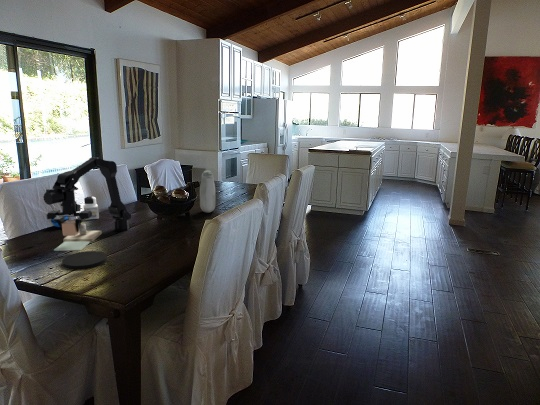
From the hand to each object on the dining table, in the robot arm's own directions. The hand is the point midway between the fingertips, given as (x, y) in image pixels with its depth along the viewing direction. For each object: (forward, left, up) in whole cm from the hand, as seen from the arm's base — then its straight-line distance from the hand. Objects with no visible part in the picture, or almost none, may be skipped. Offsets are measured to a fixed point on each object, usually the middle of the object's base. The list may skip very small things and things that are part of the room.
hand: (71, 232), depth 185 cm
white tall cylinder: (-61, -67, -8) cm, 91 cm away
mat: (0, 0, -7) cm, 7 cm away
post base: (0, -14, -7) cm, 16 cm away
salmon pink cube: (0, 0, -1) cm, 1 cm away
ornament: (+19, -33, -8) cm, 39 cm away
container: (+9, -53, -8) cm, 54 cm away
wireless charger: (-13, +20, -8) cm, 25 cm away
